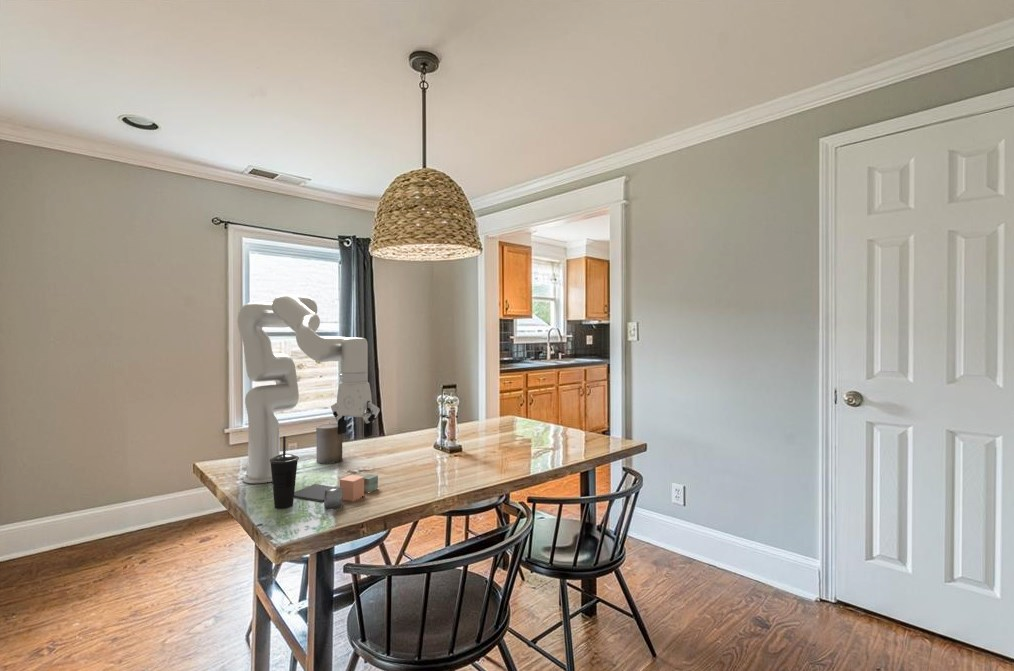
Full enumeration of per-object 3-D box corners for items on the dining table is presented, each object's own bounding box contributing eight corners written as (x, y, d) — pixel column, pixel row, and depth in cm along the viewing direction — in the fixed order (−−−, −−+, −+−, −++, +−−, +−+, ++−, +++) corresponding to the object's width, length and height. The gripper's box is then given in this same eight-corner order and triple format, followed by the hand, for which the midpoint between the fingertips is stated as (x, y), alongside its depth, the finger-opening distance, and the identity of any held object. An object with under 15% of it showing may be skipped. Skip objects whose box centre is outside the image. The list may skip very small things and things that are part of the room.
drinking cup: (302, 501, 143) (303, 433, 143) (292, 510, 135) (292, 439, 135) (276, 501, 143) (276, 433, 143) (264, 510, 135) (264, 439, 135)
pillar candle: (346, 457, 193) (346, 420, 193) (335, 464, 183) (335, 424, 183) (323, 457, 194) (323, 419, 194) (311, 463, 184) (311, 424, 184)
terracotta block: (339, 499, 145) (339, 479, 145) (350, 494, 150) (350, 474, 150) (353, 501, 143) (353, 481, 143) (364, 496, 148) (364, 476, 148)
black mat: (288, 496, 147) (288, 494, 147) (314, 485, 157) (314, 483, 157) (322, 502, 142) (322, 500, 142) (347, 490, 153) (347, 488, 153)
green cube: (357, 491, 152) (357, 477, 152) (366, 487, 156) (366, 473, 156) (369, 493, 151) (369, 479, 151) (377, 489, 155) (377, 475, 155)
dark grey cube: (320, 508, 138) (320, 490, 138) (332, 502, 142) (332, 485, 142) (334, 510, 136) (334, 492, 136) (346, 504, 141) (346, 487, 141)
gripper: (323, 378, 146) (323, 435, 146) (370, 380, 140) (370, 439, 140) (340, 376, 153) (340, 430, 153) (386, 378, 147) (386, 434, 147)
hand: (354, 434), depth 146 cm, fingers open, 9 cm apart
